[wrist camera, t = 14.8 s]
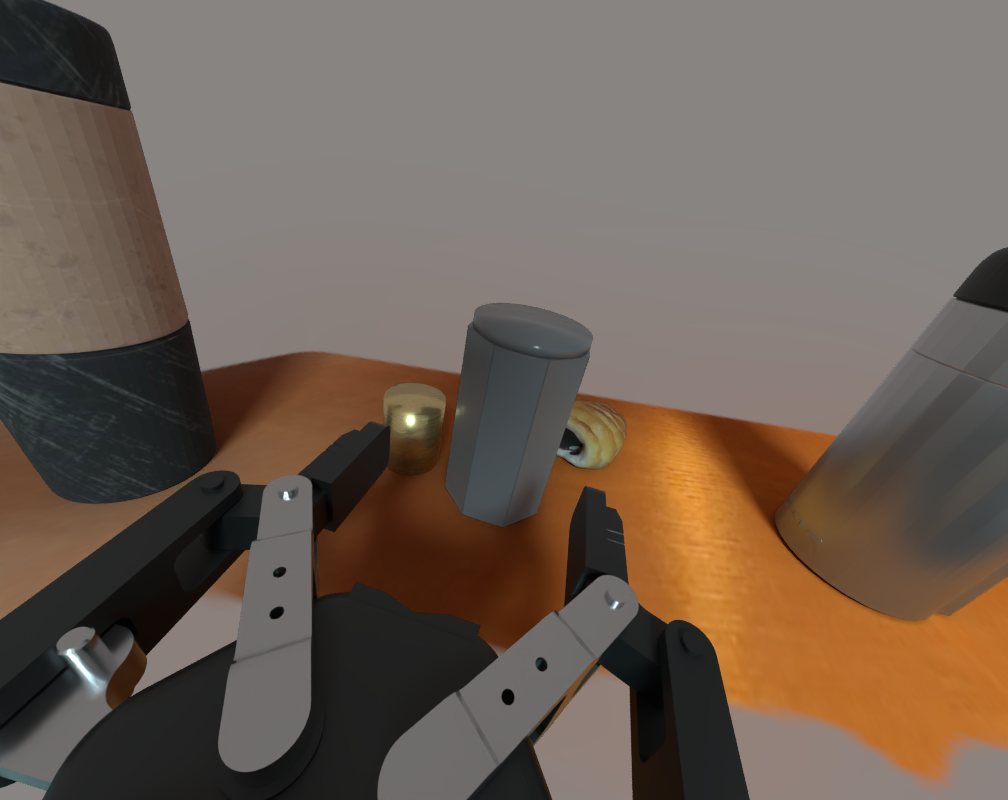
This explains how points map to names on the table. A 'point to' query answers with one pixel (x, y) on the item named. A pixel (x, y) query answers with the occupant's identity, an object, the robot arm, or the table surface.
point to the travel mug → (87, 274)
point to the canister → (513, 408)
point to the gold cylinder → (414, 426)
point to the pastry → (592, 435)
